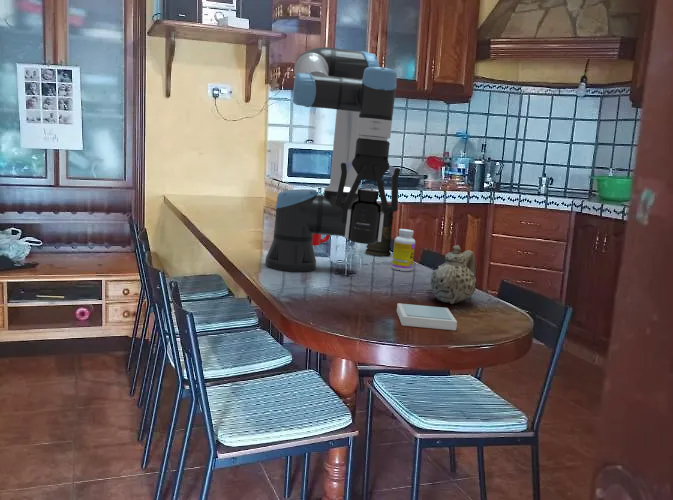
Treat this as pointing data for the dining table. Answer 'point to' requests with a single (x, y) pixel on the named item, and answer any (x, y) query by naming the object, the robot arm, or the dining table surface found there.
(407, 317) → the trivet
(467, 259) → the teapot
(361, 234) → the supplement bottle
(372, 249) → the container
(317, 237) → the mug
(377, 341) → the dining table surface
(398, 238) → the supplement bottle
